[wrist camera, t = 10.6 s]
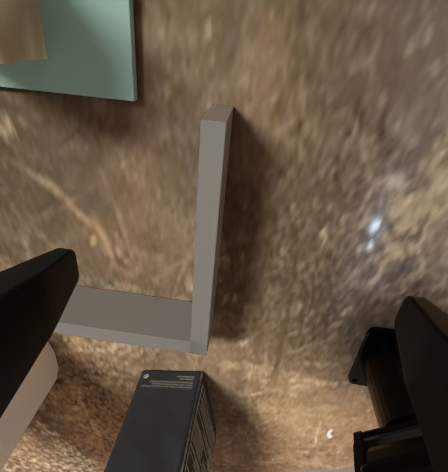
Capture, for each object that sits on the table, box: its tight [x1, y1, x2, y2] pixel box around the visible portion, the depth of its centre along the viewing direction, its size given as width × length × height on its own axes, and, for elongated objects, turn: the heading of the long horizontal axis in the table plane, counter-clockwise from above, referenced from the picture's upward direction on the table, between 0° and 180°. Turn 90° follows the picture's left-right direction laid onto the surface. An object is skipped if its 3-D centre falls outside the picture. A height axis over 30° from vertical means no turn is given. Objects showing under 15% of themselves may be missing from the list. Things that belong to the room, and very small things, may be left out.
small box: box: [104, 370, 216, 472], centre depth 30 cm, size 11×6×10 cm, turn 6°
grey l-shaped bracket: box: [53, 104, 234, 355], centre depth 22 cm, size 16×25×4 cm, turn 85°
